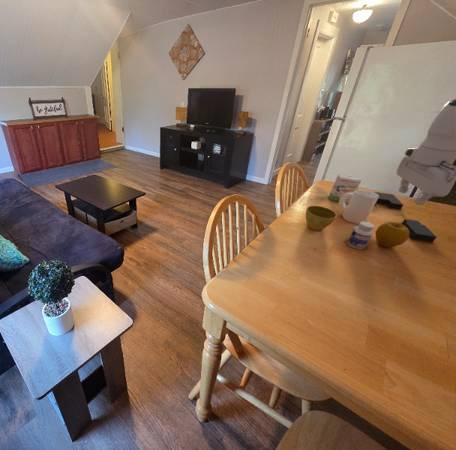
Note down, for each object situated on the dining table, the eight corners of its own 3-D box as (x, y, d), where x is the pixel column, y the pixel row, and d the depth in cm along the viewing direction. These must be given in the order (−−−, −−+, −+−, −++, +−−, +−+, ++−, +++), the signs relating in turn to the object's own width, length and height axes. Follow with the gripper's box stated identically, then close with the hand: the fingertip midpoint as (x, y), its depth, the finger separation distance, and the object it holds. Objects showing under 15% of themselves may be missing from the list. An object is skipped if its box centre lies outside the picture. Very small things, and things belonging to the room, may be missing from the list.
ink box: (330, 200, 119) (339, 177, 113) (328, 196, 123) (338, 174, 117) (350, 203, 116) (362, 180, 110) (348, 199, 120) (359, 176, 114)
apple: (403, 255, 83) (418, 233, 79) (372, 247, 87) (385, 226, 82) (397, 242, 90) (410, 221, 85) (368, 235, 93) (380, 215, 88)
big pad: (390, 198, 121) (393, 194, 120) (400, 209, 111) (403, 204, 110) (357, 194, 125) (359, 189, 124) (364, 204, 116) (366, 199, 114)
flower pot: (327, 237, 92) (335, 221, 88) (298, 228, 97) (304, 212, 93) (330, 226, 99) (338, 210, 95) (303, 218, 104) (309, 203, 100)
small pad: (417, 226, 99) (420, 221, 98) (432, 242, 90) (436, 236, 88) (398, 223, 101) (402, 218, 100) (412, 239, 92) (416, 233, 90)
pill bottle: (349, 239, 91) (359, 218, 87) (366, 245, 88) (378, 224, 83) (345, 244, 88) (356, 224, 83) (362, 251, 85) (375, 230, 80)
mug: (340, 209, 111) (351, 184, 105) (369, 221, 103) (383, 195, 96) (329, 213, 108) (340, 188, 102) (358, 225, 99) (372, 199, 93)
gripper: (474, 168, 66) (443, 213, 73) (425, 149, 82) (404, 187, 90) (445, 166, 67) (417, 210, 74) (403, 148, 84) (383, 185, 91)
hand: (409, 197), depth 82 cm, fingers open, 8 cm apart
